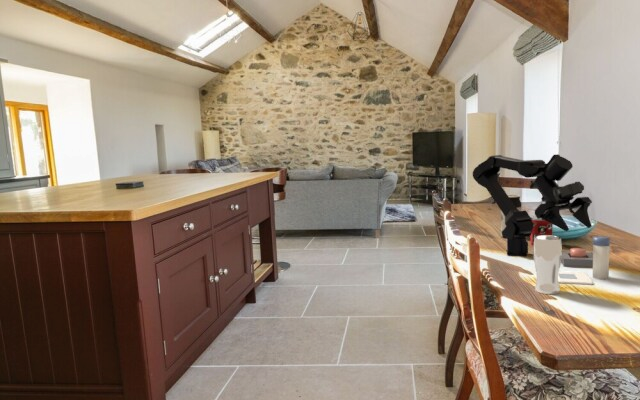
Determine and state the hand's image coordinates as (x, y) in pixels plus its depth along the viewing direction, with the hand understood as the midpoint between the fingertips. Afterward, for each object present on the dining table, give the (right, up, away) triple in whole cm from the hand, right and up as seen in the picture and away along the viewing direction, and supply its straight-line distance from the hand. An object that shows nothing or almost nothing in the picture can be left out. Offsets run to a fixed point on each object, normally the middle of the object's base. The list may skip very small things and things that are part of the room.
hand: (579, 228), depth 137 cm
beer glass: (-17, -16, -14) cm, 28 cm away
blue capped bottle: (+3, -14, -6) cm, 15 cm away
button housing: (+6, -12, +10) cm, 17 cm away
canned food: (+7, -9, +37) cm, 39 cm away
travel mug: (+2, -7, +54) cm, 54 cm away
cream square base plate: (-6, -14, -4) cm, 16 cm away
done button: (+6, -10, +10) cm, 16 cm away
